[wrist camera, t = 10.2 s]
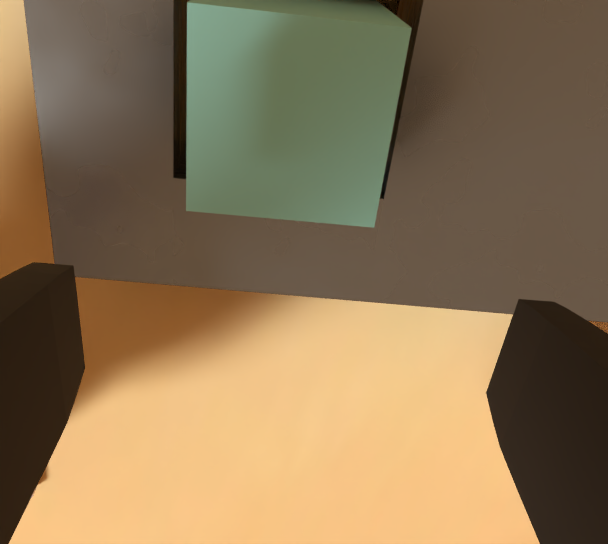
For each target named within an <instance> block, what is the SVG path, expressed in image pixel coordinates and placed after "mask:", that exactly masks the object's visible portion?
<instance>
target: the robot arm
mask: <svg viewBox="0 0 608 544" xmlns="http://www.w3.org/2000/svg"><path fill="white" fill-rule="evenodd" d="M84 369H85V363H84V354H83V345H82V336H81V327H80V318H79V309H78V300H77V291H76V283H75V274H74V265H61V264H47V263H31V264H29V265H27V266H25V267H23V268H21V269H19V270H17V271H15V272H13V273H11V274H9V275H7V276H5V277H3V278H1V279H0V544H9V541H10V539H11V537H12V535H13V533H14V531H15V529H16V527H17V525H18V523H19V521H20V519H21V517H22V515H23V513H24V511H25V509H26V507H27V505H28V503H29V501H30V499H31V497H32V496H33V495H34V492H35V490H36V486H37V484H38V482H39V480H40V478H41V476H42V474H43V472H44V470H45V468H46V466H47V464H48V462H49V460H50V458H51V456H52V453H53V451H54V449H55V447H56V445H57V443H58V441H59V439H60V437H61V435H62V433H63V430H64V428H65V426H66V424H67V421H68V419H69V416H70V413H71V410H72V407H73V404H74V401H75V398H76V395H77V392H78V389H79V385H80V382H81V379H82V376H83V373H84ZM486 394H487V398H488V402H489V406H490V411H491V415H492V419H493V423H494V427H495V430H496V434H497V437H498V441H499V445H500V448H501V450H502V453H503V455H504V458H505V461H506V463H507V466H508V468H509V470H510V473H511V475H512V478H513V480H514V483H515V485H516V488H517V490H518V492H519V495H520V497H521V500H522V502H523V504H524V507H525V509H526V511H527V514H528V516H529V519H530V521H531V523H532V526H533V528H534V531H535V533H536V535H537V538H538V540H539V542H540V544H608V334H607V333H605V332H604V331H602V330H601V329H599V328H598V327H596V326H595V325H593V324H592V323H590V322H588V321H587V320H585V319H584V318H582V317H581V316H579V315H577V314H576V313H574V312H572V311H571V310H569V309H567V308H565V307H564V306H562V305H560V304H558V303H556V302H552V301H539V300H526V299H518V302H517V305H516V308H515V311H514V314H513V317H512V320H511V323H510V325H509V328H508V331H507V334H506V337H505V340H504V343H503V346H502V349H501V352H500V354H499V357H498V360H497V363H496V366H495V369H494V372H493V375H492V378H491V381H490V383H489V386H488V389H487V392H486Z"/></svg>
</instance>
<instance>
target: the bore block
mask: <svg viewBox="0 0 608 544" xmlns="http://www.w3.org/2000/svg"><path fill="white" fill-rule="evenodd" d="M188 1H190V0H24V7H25V16H26V24H27V33H28V41H29V50H30V58H31V67H32V75H33V84H34V92H35V101H36V109H37V118H38V126H39V134H40V143H41V151H42V160H43V168H44V177H45V185H46V194H47V202H48V211H49V219H50V228H51V236H52V245H53V253H54V262H55V264H61V265H74V274H75V277H83V278H95V279H106V280H118V281H130V282H142V283H153V284H165V285H177V286H188V287H200V288H212V289H223V290H235V291H247V292H259V293H270V294H282V295H294V296H305V297H317V298H329V299H340V300H352V301H364V302H376V303H387V304H399V305H411V306H422V307H434V308H446V309H457V310H469V311H481V312H493V313H504V314H514V311H515V308H516V305H517V302H518V299H526V300H539V301H552V302H556V303H558V304H560V305H562V306H564V307H565V308H567V309H569V310H571V311H572V312H574V313H576V314H577V315H579V316H581V317H582V318H584V319H585V320H587V321H598V322H608V0H399V3H398V9H397V14H396V16H397V17H398V18H400V19H401V20H402V21H403V22H405V23H406V24H407V25H409V26H410V27H411V28H412V29H411V35H410V40H409V45H408V51H407V56H406V61H405V66H404V72H403V77H402V82H401V88H400V93H399V98H398V104H397V109H396V114H395V120H394V125H393V130H392V135H391V141H390V146H389V151H388V157H387V162H386V167H385V173H384V178H383V183H382V189H381V194H380V199H379V205H378V210H377V215H376V220H375V226H374V228H373V227H362V226H350V225H339V224H328V223H317V222H305V221H294V220H283V219H272V218H260V217H249V216H238V215H227V214H215V213H204V212H193V211H186V125H187V2H188Z"/></svg>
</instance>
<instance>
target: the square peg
mask: <svg viewBox="0 0 608 544" xmlns="http://www.w3.org/2000/svg"><path fill="white" fill-rule="evenodd" d="M411 29H412V28H411V27H410V26H409V25H407V24H406V23H405V22H403V21H402V20H401V19H400V18H398V17H397V16H396V15H395V14H393V13H392V12H391V11H389V10H388V9H387V8H386V7H384V6H383V5H382V4H381V3H379V2H378V1H377V0H190V1H188V2H187V125H186V211H193V212H204V213H215V214H227V215H238V216H249V217H260V218H272V219H283V220H294V221H305V222H317V223H328V224H339V225H350V226H362V227H373V228H374V226H375V220H376V215H377V210H378V205H379V199H380V194H381V189H382V183H383V178H384V173H385V167H386V162H387V157H388V151H389V146H390V141H391V135H392V130H393V125H394V120H395V114H396V109H397V104H398V98H399V93H400V88H401V82H402V77H403V72H404V66H405V61H406V56H407V51H408V45H409V40H410V35H411Z"/></svg>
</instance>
